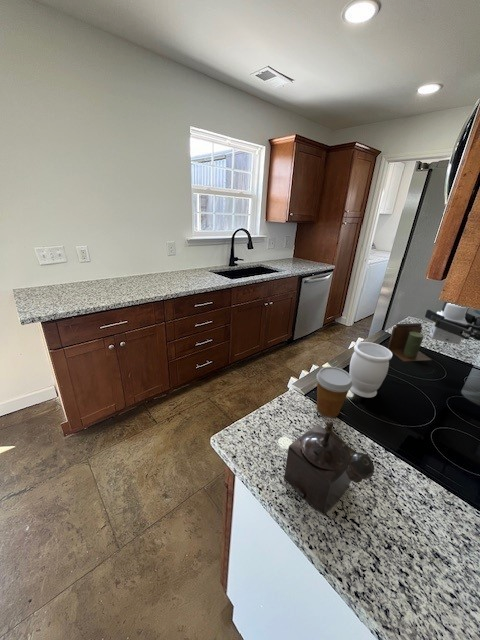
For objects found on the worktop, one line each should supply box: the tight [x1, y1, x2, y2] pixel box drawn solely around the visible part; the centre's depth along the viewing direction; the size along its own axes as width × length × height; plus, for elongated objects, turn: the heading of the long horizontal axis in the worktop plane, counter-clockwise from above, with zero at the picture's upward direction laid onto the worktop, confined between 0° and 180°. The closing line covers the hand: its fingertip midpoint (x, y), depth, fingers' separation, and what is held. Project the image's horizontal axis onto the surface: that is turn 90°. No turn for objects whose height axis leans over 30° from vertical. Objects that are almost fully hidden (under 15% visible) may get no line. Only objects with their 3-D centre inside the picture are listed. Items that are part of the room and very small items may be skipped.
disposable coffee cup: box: [316, 366, 353, 418], centre depth 75 cm, size 10×10×12 cm
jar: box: [349, 341, 393, 399], centre depth 83 cm, size 11×10×15 cm
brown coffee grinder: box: [283, 420, 375, 515], centre depth 51 cm, size 16×11×18 cm
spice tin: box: [403, 332, 425, 358], centre depth 103 cm, size 5×5×9 cm
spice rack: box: [386, 322, 432, 362], centre depth 104 cm, size 12×10×12 cm
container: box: [429, 301, 470, 345], centre depth 89 cm, size 8×8×13 cm
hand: (441, 312), depth 92 cm, fingers closed on container, 10 cm apart
